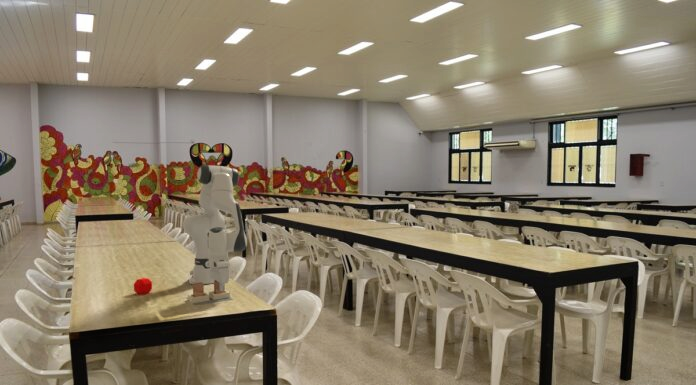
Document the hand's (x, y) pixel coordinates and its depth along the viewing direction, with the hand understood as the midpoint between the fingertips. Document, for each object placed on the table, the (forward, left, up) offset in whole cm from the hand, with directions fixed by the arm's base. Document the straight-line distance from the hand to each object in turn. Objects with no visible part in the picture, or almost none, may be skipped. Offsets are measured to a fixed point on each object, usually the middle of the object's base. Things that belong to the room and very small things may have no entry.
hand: (219, 289), depth 239 cm
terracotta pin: (0, 0, -4) cm, 4 cm away
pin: (0, -10, -4) cm, 11 cm away
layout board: (0, -5, -5) cm, 7 cm away
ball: (-38, -29, -5) cm, 48 cm away
